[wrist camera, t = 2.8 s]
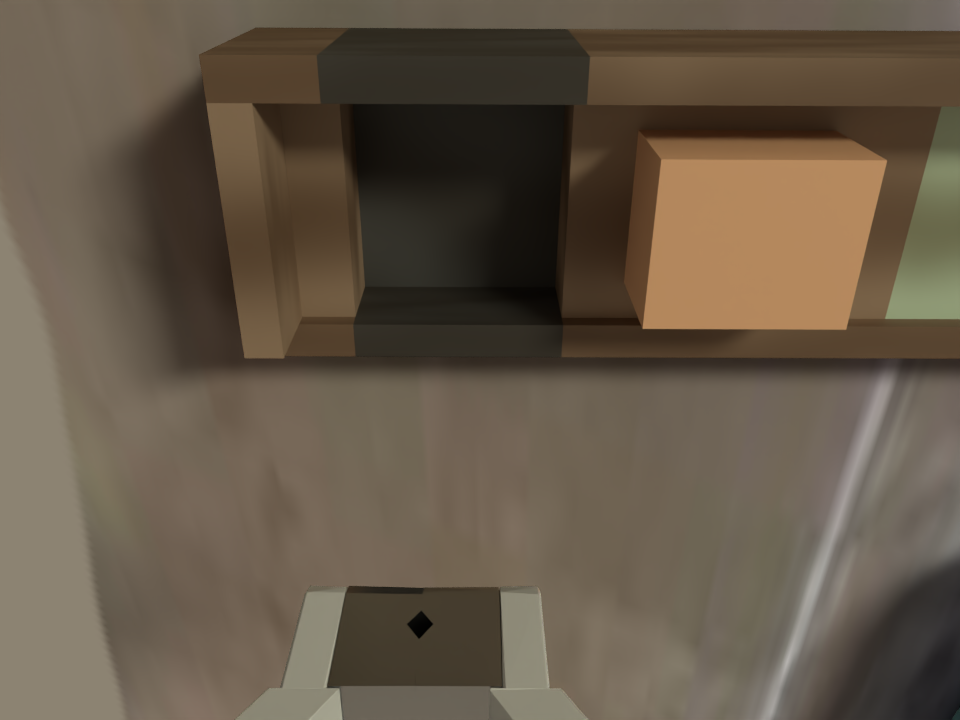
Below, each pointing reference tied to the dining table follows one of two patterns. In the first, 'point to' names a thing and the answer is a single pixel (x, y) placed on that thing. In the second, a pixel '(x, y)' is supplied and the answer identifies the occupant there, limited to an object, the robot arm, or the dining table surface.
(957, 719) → the casserole dish
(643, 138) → the terracotta block
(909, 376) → the dining table surface
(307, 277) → the box
